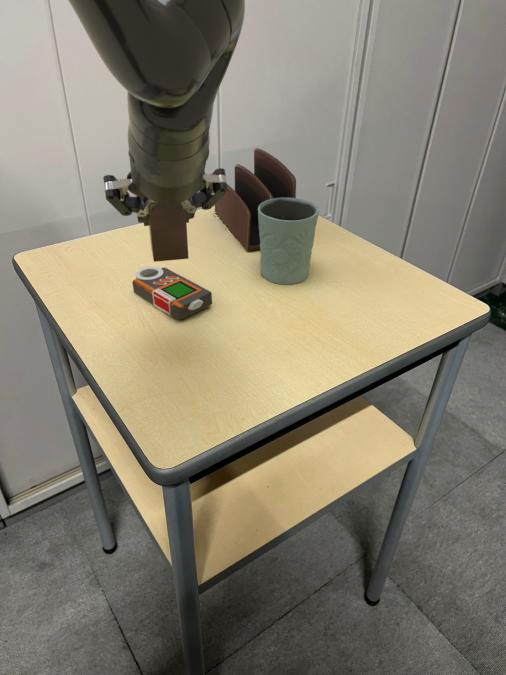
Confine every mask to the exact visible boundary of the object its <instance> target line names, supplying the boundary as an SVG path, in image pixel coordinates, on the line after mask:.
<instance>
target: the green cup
mask: <svg viewBox="0 0 506 675" xmlns="http://www.w3.org/2000/svg"><path fill="white" fill-rule="evenodd" d="M319 212H320V209H319V207H318V206H317V205H316V204H315V203H313V202H312V201H308V200H305V199H302V198H297V197H296V198H274V199H270V200H266V201H264V202H262V203H261V204H260V205H259V206H258V221H259V235H260V250H259V252H260V261H259V265H260V275H261V276H262V278H264V279H265V280H266V281H269V282H270V283H273V284H276V285H283V286H285V285H286V286H287V285H289V286H291V285H297V284H300V283H302V282H304V281H305V280H306V279H307V278H308V276H309V274H310V268H311V259H312V255H313V247H314V242H315V235H316V229H317V224H318V219H319Z"/></svg>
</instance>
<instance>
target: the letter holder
mask: <svg viewBox="0 0 506 675" xmlns="http://www.w3.org/2000/svg"><path fill="white" fill-rule="evenodd" d="M227 187H228V191H227V192H226V193H225V194H224V195H223V196H222V197H221V199H220V200H219V201H218V202H217V203H216V204H215V205H214V213H215V214H216V215H217V217H219V219H220V220H221V222H223V223H224V225H225V227H227V228H228V229H229V231H230V232H231V233H232V235H233V236H234V237H235V238H236V239H237V241H238V242H239V243H240V244H241V245H242V247H243V248H244V249H245V251H247V252H253V251H260V235H259V221H258V206H259V205H260V204H261V203H262V202H264V201H266V200H270V199H274V198H297V179H296V177H295V175H294V174H293V173H292V171H290V169H289V168H288V167H287V166H286V165H284V163H283V162H281V161H280V160H279V159H278V158H276V157H275V156H274V155H272V154H270V153H269V152H267V151H265V150H263V149H261V148H259V147H256V148H254V150H253V172H252V171H251V170H249V169H248V168H246V167H245V166H244V165H241V164H239V163H236V164H235V165H234V188H233V187H231V185H229V184H228V183H227Z"/></svg>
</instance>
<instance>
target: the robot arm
mask: <svg viewBox="0 0 506 675" xmlns="http://www.w3.org/2000/svg"><path fill="white" fill-rule="evenodd" d="M67 1H68V3H69V4H70V6H71V8H72V9H73V11H74V13H75V15H76V16H77V18H78V21H79V23H81V25H82V27H83V29H84V31H85V33H86V35H87V36H88V38H89V40H90V42H91V43H92V46H93V47H94V49H95V51H96V53H97V54H98V56H99V57H100V60H102V62H103V64H104V66H105V67H106V68H107V70H108V71H109V73H110V74H111V75H112V77H114V79H115V80H116V81H117V82H118V84H119V85H121V87H122V88H124V89H125V91H126V102H127V111H128V112H127V114H128V127H127V144H128V151H127V152H128V157H129V166H130V167H129V168H130V171H129V172H128V173H127V176H126V178H118V179H117V177H115V175H113V174H106V175H103V177H102V178H103V185H104V186H103V188H104V195H105V200H106V201H107V202H108V203H109V204H110V205H111V206H112V207H113V208H114V209H115V210H116V211H117V212H118V213H120V215H121V216H123V217H128V216H132V214H133V213H134V214H136V217H137V218H136V219H137V223H139V224H142V223H143V227H149V212H153V211H154V210H155V208H156V207H157V206H158V204H178V203H179V204H180V206H181V207H182V209H183V210H184V209H185V210H186V223H187V224H188V223H190V220H192V219H194V218H195V214H196V212H197V211H198V210H197V209H198V208H201V210H203V211H208V210H211V209H212V208H213V207H215V204H216V203H217V202H218V201H219V200H220V199H221V197H222V196H223V195H224V194H225V193H226V192H227V191H228V187H227V184H228V182H227V175H226V169H224V168H222V167H221V168H216V169H214V171H213V172H212V173H206V171H205V170H206V165H207V161H208V159H209V155H210V141H211V140H210V139H211V138H210V136H211V135H210V129H211V124H212V119H213V114H214V106H215V101H216V98H217V96H218V92H219V89H220V87H221V84H222V82H223V81H224V78H225V75H226V72H227V70H228V68H229V66H230V64H231V60H232V57H233V55H234V53H235V50H236V47H237V45H238V42H239V39H240V36H241V33H242V29H243V25H244V20H245V13H246V0H67ZM129 192H130V193H131V194H132V195H134V196H131V195H130V193H129Z"/></svg>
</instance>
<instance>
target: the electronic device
mask: <svg viewBox="0 0 506 675" xmlns="http://www.w3.org/2000/svg"><path fill="white" fill-rule="evenodd" d="M134 276H135V278H134V279H133V280H132V282H131V283H132V284H131V285H132V289H133V293H134V294H136V295H138V296H139V297H141V298H142V299H144V300H146V301H147V302H149V303H151V304H152V305H153V307H155V308H156V309H158V310H160V311H161V312H163V313H165V314H167V315H168V316H170V317H173V318H175V319H177V320H179V321H180V320H181V321H182V320H183V319H184V318H186V317H189V316H191V315H193V314H195V313H197V312H199V311H201V310H203V309H205V308H207V307H209V306H212V305H213V295H212V294H213V293H212V291H210V290H209V289H207V288H204V287H203V286H201V285H200V284H197V283H195V282H193V281H191V280H190V279H188V278H186V277H184V276H182V275H180V274H178V273H176V272H174V271H172V270H170V269H169V268H167V267H162V268H161V267H158V266H145V267H142V268H139V269H137V271H135V273H134Z"/></svg>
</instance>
